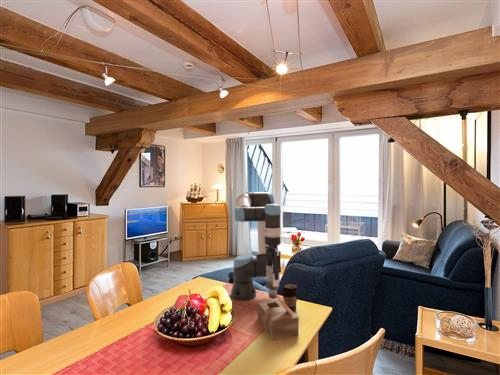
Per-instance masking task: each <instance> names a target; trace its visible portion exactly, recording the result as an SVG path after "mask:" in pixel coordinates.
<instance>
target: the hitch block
mask: <svg viewBox="0 0 500 375" xmlns="http://www.w3.org/2000/svg"><path fill="white" fill-rule="evenodd" d="M289 309H290V308H289ZM290 311H291V312H292V314H293V315H292V316H291V315H290V314H289V313H288V312H287V311H286V309H285V308H284V307H283V305H282V304H281V302H280V301H279V300H278V299H274V300H267V301H258V302H257V318H258V321H259V322H260V323H261V325H262V326H263V328H264V329H265V331H266V332H267V334H268V336H270V338H271V339H272V340H273V341H276V340H281V339H285V338H286V339H287V338H291V337H298V336H299V335H300V334H299V333H300V332H299V316H298V315H297V314H296V312H293V311H292V310H291V309H290Z"/></svg>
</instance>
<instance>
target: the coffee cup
mask: <svg viewBox="0 0 500 375" xmlns="http://www.w3.org/2000/svg"><path fill="white" fill-rule="evenodd" d="M281 290H282V300H283V301H284V302H285V304H286V305H287V307H288V308H290V309H291V310H292V311H293V312H294V313H296V312H297V301H298V291H299V288H298V287H297V285H296V284H293V283H292V284H291V283H288V284H284V285H283V287H282V288H281Z"/></svg>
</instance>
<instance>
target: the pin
mask: <svg viewBox="0 0 500 375" xmlns="http://www.w3.org/2000/svg"><path fill="white" fill-rule="evenodd" d="M272 272H274V271H273V264H269V265H266V278H265V284H266V286H265V287H266V288H267V289H268V298H269V299H274V300H276V299H278V298H277V297H276V296H278V289H279V288H280V283H281V282H280V275H281V274H280V273H281V272H280V273H279V286H276V287H273V273H272Z"/></svg>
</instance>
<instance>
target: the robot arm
mask: <svg viewBox="0 0 500 375" xmlns="http://www.w3.org/2000/svg"><path fill="white" fill-rule="evenodd" d="M274 197H275V196H274V195H273V193H272V192H271V191H248V192H247V191H246V192H244V193H242V194H240V195H239V196H237V197H236V200H235V207H234V221H235V222H239V223H240V222H241V223H243V222H245V223H246V222H248V223H249V222H257V223H256V224H257V245H258V246H257V250H258V252H257V253H256V254H255V256H256V257H254V256H253V255H251V254H243V255H239V256H236V257H235V258H234V259H233V266H232V267H233V284H232V288H231V290H230V296H231V298H232V299H235V300H236V301H237V300H238V301H249V300H252V299H255V297H256V296H257V290H256V288H255V287H256V286H255V285H254V279H261V278H263V279H264V278H265V279H266V265H269V264H273V271H274V272H272V273H273V287H276V286H279V273H282V269H281V268H282V265H281V262H282V261H281V253H282V252H281V250H279V249H278V246H279V245H281V244H282V243H281V234H282V233H281V205H280V204H278V203H275V198H274Z"/></svg>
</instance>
